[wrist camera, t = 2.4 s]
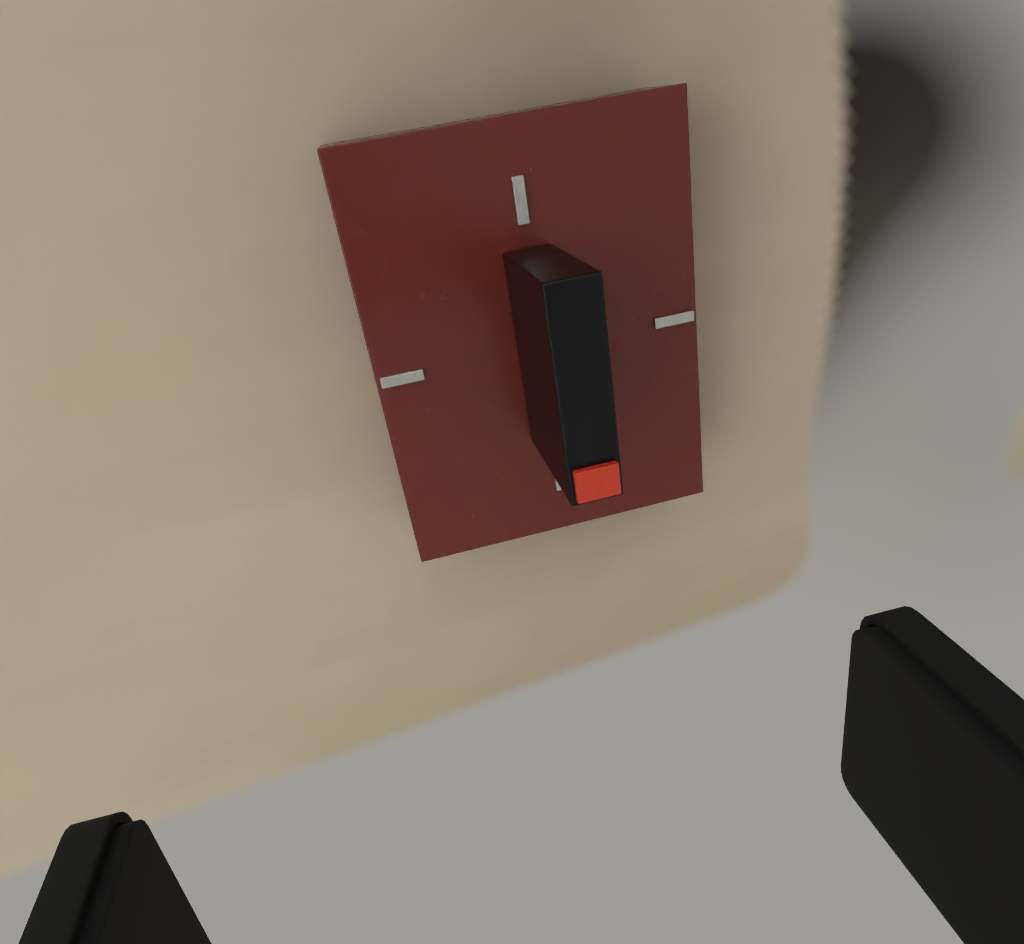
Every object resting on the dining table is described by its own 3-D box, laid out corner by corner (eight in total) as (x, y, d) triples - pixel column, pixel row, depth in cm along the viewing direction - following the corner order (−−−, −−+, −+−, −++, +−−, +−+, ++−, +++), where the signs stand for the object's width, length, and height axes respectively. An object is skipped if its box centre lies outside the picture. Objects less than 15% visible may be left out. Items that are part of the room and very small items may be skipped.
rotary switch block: (319, 145, 23) (316, 148, 20) (643, 88, 25) (689, 82, 21) (413, 517, 30) (422, 564, 26) (666, 456, 31) (705, 494, 28)
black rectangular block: (501, 252, 23) (543, 285, 18) (551, 242, 23) (606, 272, 18) (531, 441, 25) (574, 511, 21) (575, 431, 26) (627, 498, 21)
